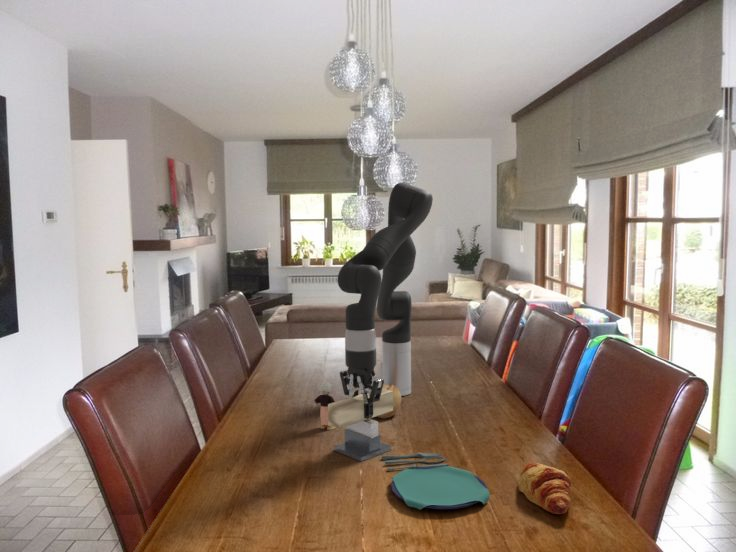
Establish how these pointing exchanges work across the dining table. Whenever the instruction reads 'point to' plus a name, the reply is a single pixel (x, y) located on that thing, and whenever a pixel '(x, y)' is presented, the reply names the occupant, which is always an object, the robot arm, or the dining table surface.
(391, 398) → the birch bar
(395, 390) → the bread roll
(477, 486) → the cutlery set
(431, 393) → the dining table surface
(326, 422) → the grandmother figurine
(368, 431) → the ridge stand
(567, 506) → the croissant
